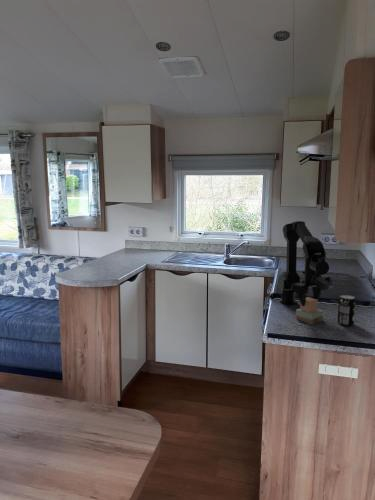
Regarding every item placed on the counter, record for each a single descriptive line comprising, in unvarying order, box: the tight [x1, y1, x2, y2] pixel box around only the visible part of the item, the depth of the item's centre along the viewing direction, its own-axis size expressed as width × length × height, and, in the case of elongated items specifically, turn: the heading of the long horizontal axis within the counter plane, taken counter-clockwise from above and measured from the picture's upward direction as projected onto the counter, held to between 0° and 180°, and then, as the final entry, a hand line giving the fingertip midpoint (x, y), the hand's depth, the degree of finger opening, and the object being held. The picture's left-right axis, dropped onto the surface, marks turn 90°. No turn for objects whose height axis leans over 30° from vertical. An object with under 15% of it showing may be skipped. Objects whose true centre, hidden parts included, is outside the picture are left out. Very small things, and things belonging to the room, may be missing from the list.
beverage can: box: [336, 294, 357, 327], centre depth 165 cm, size 7×7×12 cm
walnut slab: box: [295, 314, 324, 325], centre depth 171 cm, size 8×8×2 cm
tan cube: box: [299, 296, 319, 313], centre depth 170 cm, size 5×5×5 cm
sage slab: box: [295, 308, 323, 320], centre depth 171 cm, size 8×8×2 cm
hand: (309, 304), depth 170 cm, fingers open, 8 cm apart
